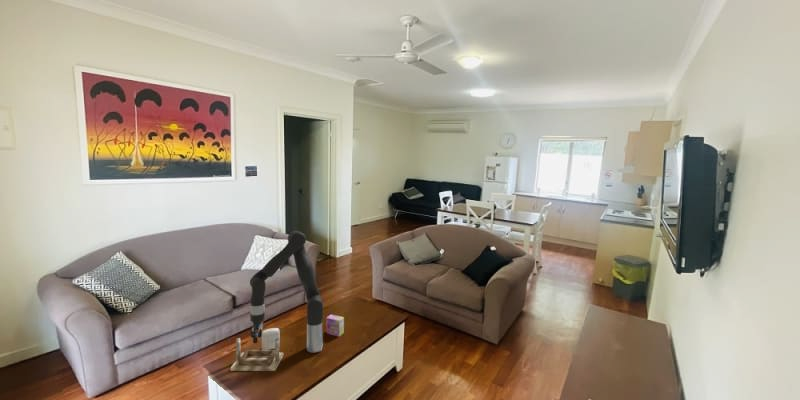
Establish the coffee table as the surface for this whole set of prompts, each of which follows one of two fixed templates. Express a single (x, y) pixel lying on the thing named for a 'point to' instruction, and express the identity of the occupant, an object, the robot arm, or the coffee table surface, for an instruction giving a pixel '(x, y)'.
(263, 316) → the robot arm
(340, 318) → the box
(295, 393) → the coffee table surface
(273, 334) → the photo printer
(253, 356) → the beige hollow frame piece
